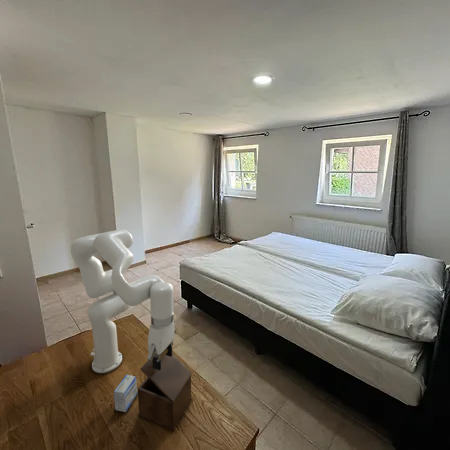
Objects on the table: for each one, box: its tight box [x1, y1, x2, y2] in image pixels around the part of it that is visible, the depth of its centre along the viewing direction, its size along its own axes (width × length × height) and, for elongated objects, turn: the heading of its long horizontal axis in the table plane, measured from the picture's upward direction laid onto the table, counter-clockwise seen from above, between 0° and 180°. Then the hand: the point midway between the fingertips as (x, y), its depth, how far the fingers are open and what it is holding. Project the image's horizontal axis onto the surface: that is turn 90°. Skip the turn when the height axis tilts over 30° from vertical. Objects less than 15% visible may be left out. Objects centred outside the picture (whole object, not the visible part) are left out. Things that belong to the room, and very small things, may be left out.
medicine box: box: [113, 374, 138, 413], centre depth 93 cm, size 8×4×9 cm, turn 168°
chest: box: [137, 374, 192, 431], centre depth 91 cm, size 15×13×12 cm
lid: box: [140, 348, 192, 403], centre depth 88 cm, size 15×13×5 cm
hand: (162, 361), depth 88 cm, fingers closed on lid, 6 cm apart
